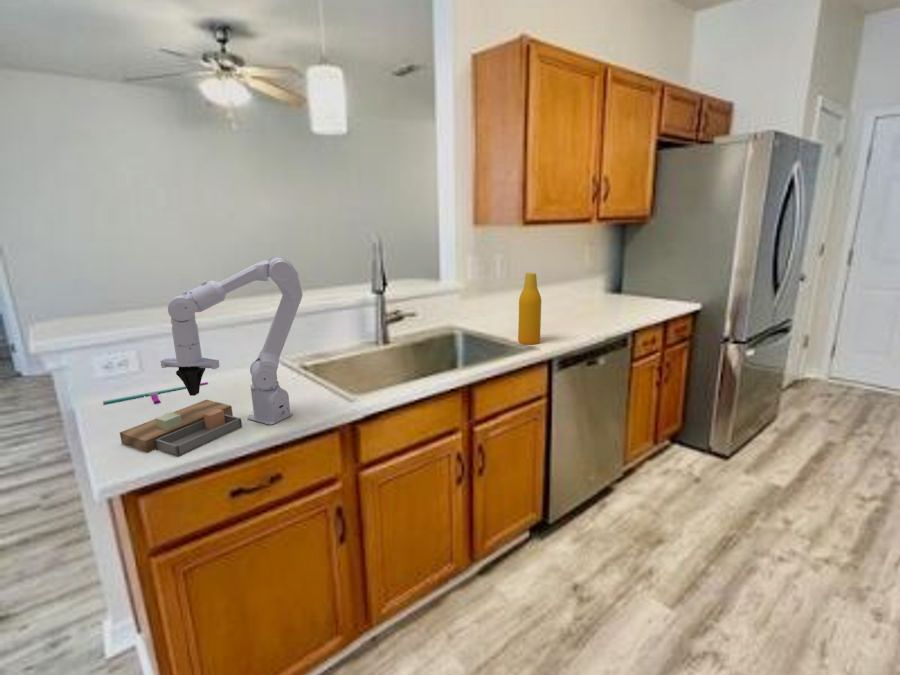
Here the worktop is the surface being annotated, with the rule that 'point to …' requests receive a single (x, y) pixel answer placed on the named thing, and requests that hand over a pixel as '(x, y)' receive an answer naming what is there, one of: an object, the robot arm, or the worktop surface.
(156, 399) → the squeegee
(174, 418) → the tile sage
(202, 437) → the tray
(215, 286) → the robot arm
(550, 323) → the worktop surface
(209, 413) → the tile terracotta
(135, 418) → the worktop surface
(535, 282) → the beer bottle
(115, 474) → the worktop surface
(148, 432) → the board
